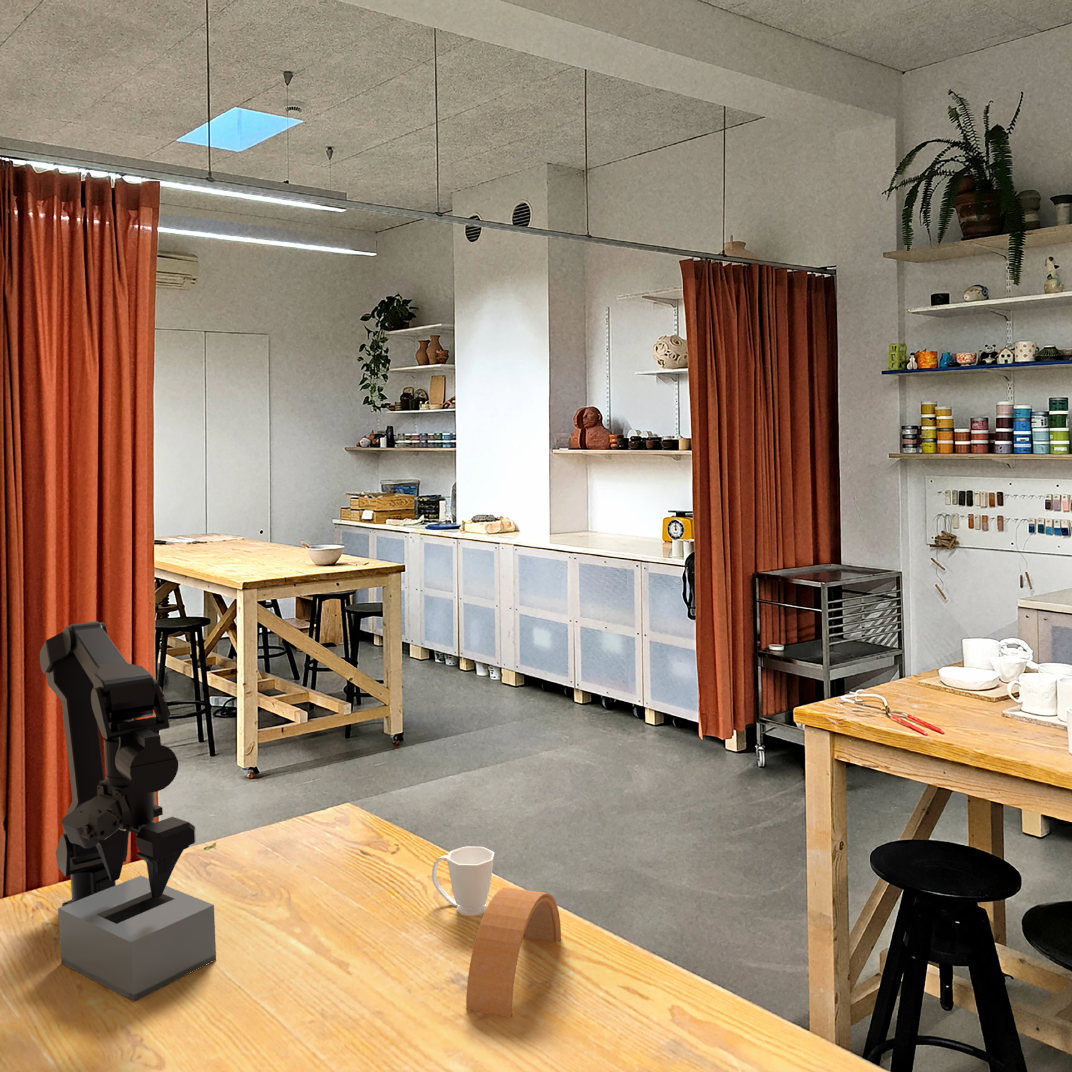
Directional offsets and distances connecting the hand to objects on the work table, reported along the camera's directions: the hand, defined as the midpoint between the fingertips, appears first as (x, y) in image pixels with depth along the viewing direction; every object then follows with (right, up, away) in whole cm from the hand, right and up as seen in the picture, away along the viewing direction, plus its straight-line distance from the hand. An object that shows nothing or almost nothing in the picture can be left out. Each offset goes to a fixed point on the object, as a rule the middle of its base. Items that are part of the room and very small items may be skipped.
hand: (135, 888), depth 133 cm
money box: (0, -10, +1) cm, 10 cm away
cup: (+41, -8, +16) cm, 45 cm away
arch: (+49, -10, -2) cm, 50 cm away
